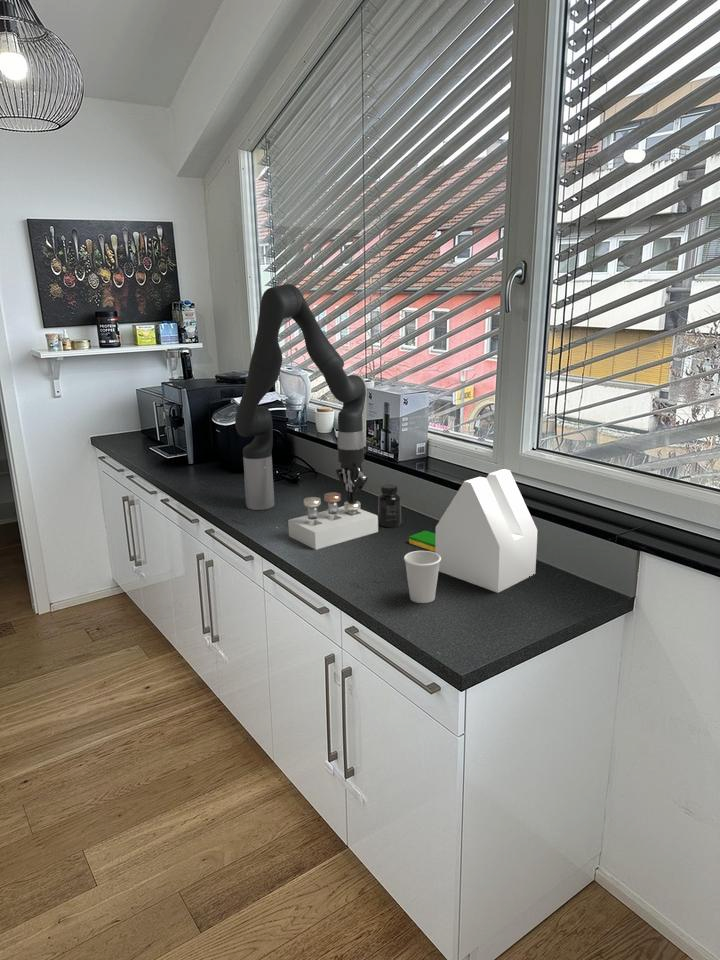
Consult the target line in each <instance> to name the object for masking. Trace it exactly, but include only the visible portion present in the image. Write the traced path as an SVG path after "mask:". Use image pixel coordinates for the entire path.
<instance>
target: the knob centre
mask: <svg viewBox="0 0 720 960" xmlns="http://www.w3.org/2000/svg"><path fill="white" fill-rule="evenodd" d="M323 500H324V501H325V502H327V510H328V514H337V513H338V507H339V504H338V502H341V500H342V494H341V493H339V492H333V491H332V492H326V493H324V494H323Z"/></svg>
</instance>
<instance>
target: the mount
mask: <svg viewBox="0 0 720 960" xmlns="http://www.w3.org/2000/svg"><path fill="white" fill-rule="evenodd" d="M287 521H288V537H289V538H291V539H294V540H296V541H297V542H300V543H301V544H304V545H305V546H308V547H309V548H311V549H314V550H320V549H324V548H327V547H330V546H334V545H337V544H340V543H344V542H348V541H350V540H355V539H358V538H361V537H365V536H369V535H372V534H375V533H379V515H377V514H375V513H372V512H369V511H367V510H364V509H362V508H360V509H358V510H357V514H356V515H353V516H350V515H348V510H346V509H344V505H343V506H338V513H337V514H328V509H326V510H323V511H318V518H317V519H314V520H310V519H308V514H306V515H302V516H299V517H293V518H291V519H288V520H287Z"/></svg>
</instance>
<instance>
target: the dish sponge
mask: <svg viewBox="0 0 720 960" xmlns="http://www.w3.org/2000/svg"><path fill="white" fill-rule="evenodd" d="M435 539H436V532H431V531H428V530H422V531H420V532H418V533H415V534H412V535H409V536H408V544H411V545H414V546H416V547H419V548H422V549H425V550H427V551H430V552H434V553H435Z"/></svg>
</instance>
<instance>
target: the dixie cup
mask: <svg viewBox="0 0 720 960" xmlns="http://www.w3.org/2000/svg"><path fill="white" fill-rule="evenodd" d="M403 560H404V563H405V571H406V577H407V586H408V592H409V598H410V601H412V602H413V603H417V604H427V603H432V602H433V601H434V600H435V598H436V593H437V584H438V578H439V572H440V571H439V564H440V561H441V557H440V556H439V555H438V554H436V553H435V552H433V551H430V550H416V551H409V552H408V553H406V554H405V555H404V557H403Z"/></svg>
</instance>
